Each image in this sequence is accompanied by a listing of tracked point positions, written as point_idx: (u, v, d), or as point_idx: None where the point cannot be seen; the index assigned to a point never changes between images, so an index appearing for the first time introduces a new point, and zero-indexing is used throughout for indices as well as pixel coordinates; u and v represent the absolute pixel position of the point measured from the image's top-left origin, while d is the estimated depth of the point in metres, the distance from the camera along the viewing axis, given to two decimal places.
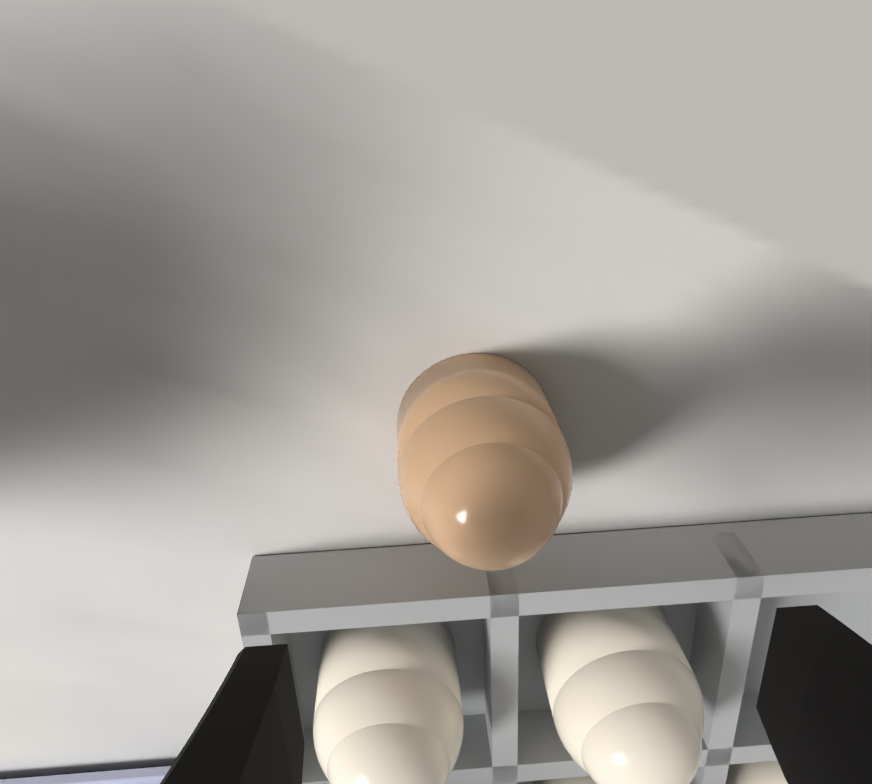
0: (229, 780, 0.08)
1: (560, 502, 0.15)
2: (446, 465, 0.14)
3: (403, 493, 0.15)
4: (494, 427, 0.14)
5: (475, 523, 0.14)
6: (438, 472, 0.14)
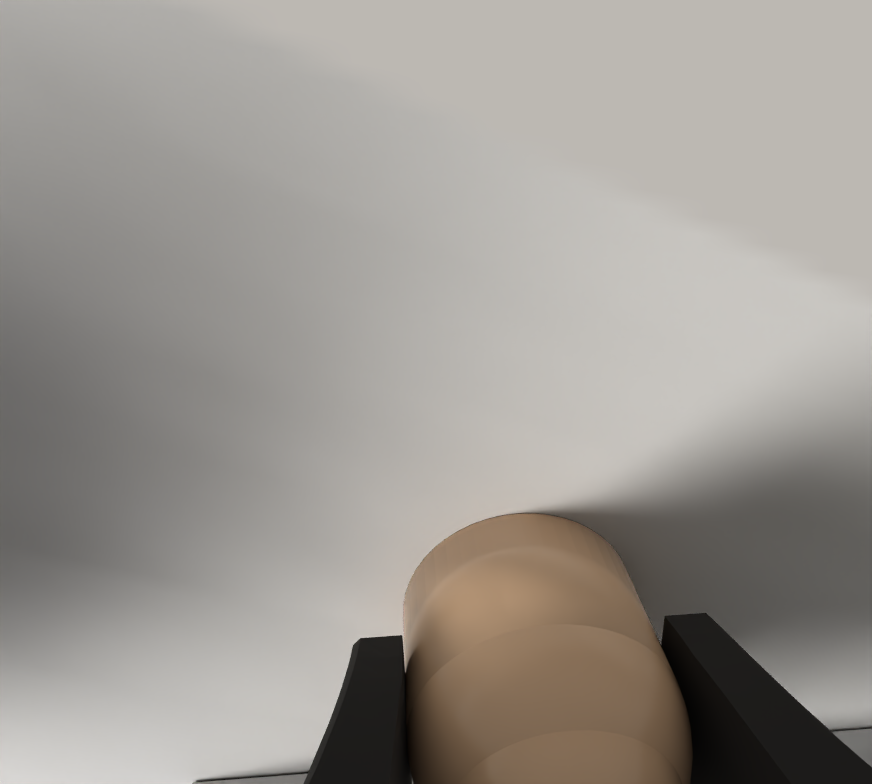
0: (379, 768, 0.08)
1: None
2: (491, 771, 0.08)
3: (414, 779, 0.09)
4: (572, 697, 0.08)
5: None
6: (476, 779, 0.08)
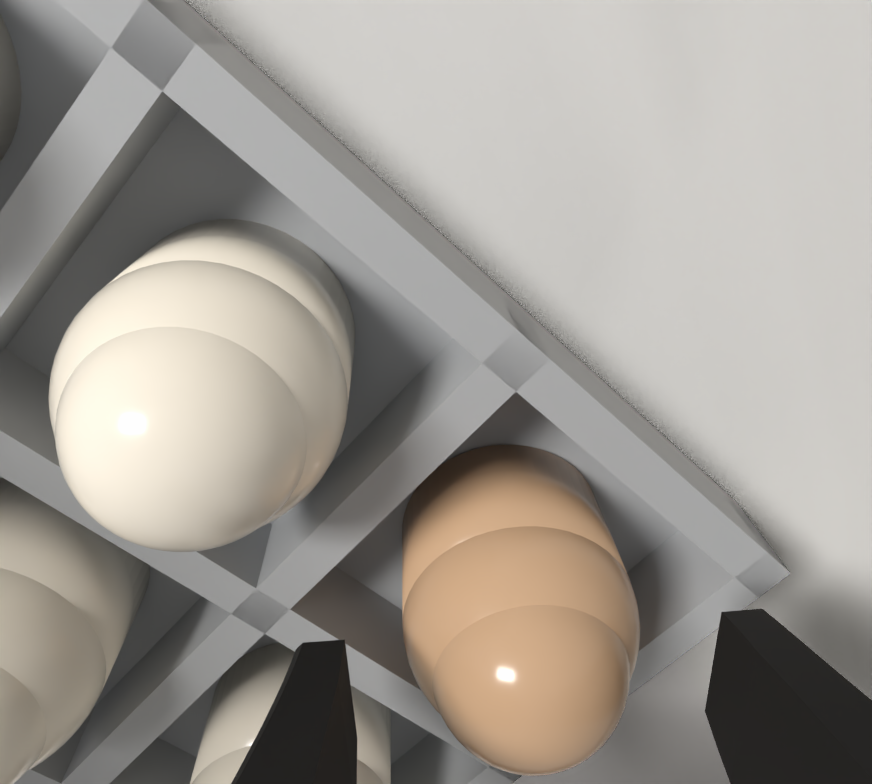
0: (304, 774, 0.08)
1: (628, 684, 0.10)
2: (469, 636, 0.10)
3: (408, 654, 0.11)
4: (537, 580, 0.10)
5: (510, 728, 0.10)
6: (458, 644, 0.10)
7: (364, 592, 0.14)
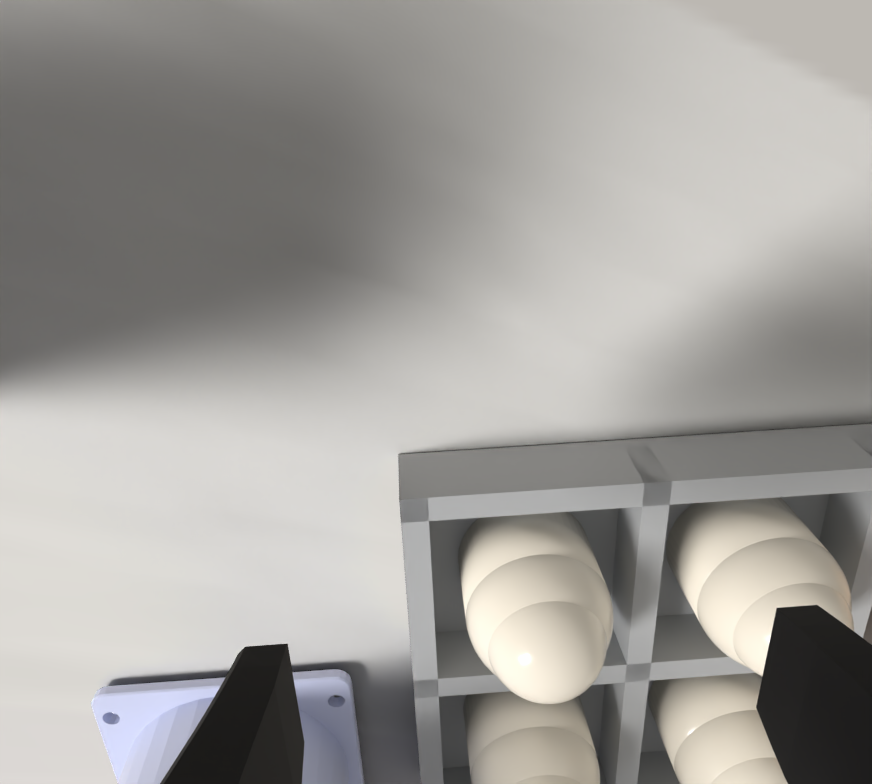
0: (229, 780, 0.08)
1: None
2: None
3: None
4: None
5: None
6: None
7: None
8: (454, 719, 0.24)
